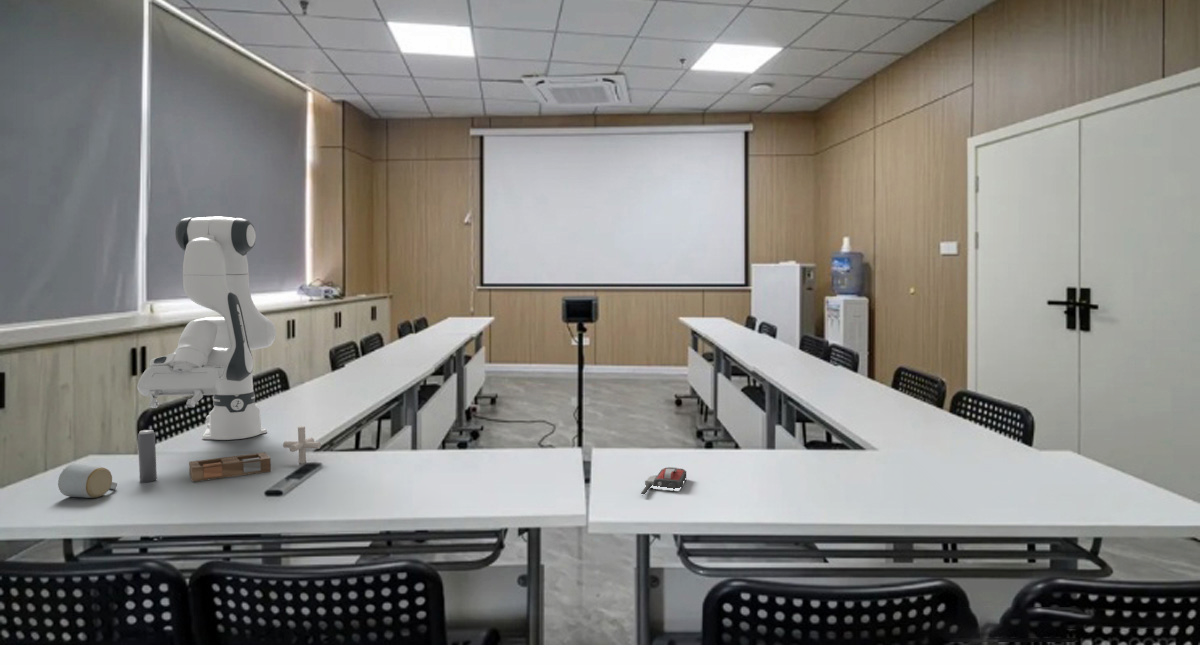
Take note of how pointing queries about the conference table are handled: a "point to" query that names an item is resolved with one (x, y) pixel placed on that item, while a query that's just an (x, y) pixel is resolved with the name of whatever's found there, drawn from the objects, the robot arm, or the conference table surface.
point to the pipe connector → (301, 444)
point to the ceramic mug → (85, 481)
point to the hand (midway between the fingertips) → (171, 406)
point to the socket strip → (229, 466)
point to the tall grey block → (147, 456)
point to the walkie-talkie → (666, 479)
